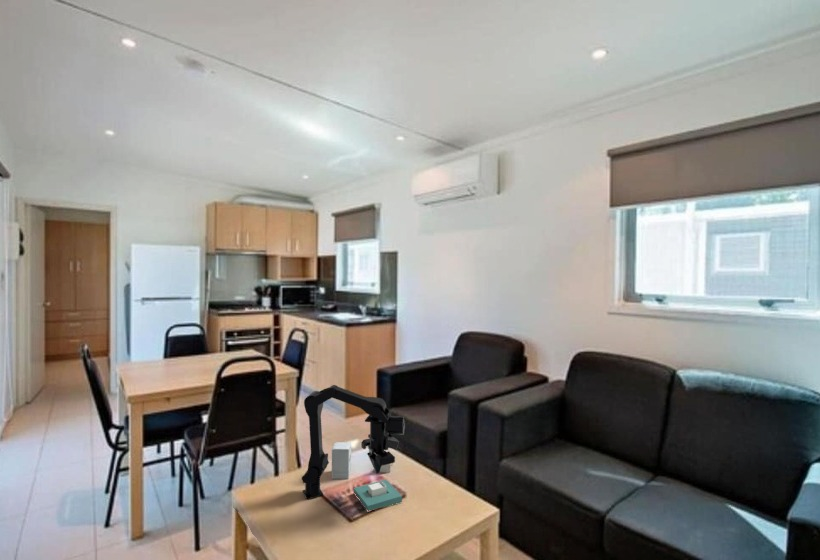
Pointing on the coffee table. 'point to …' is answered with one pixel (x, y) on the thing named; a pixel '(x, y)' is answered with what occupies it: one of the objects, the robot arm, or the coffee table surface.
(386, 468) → the architectural model
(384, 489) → the plug
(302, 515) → the coffee table surface
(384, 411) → the robot arm
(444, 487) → the coffee table surface
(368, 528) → the coffee table surface
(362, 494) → the socket board
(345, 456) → the supplement box
